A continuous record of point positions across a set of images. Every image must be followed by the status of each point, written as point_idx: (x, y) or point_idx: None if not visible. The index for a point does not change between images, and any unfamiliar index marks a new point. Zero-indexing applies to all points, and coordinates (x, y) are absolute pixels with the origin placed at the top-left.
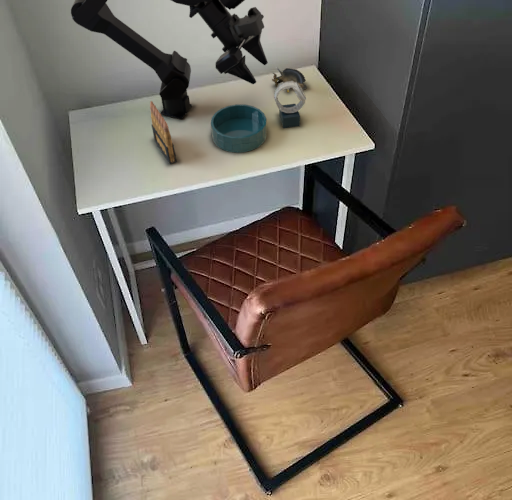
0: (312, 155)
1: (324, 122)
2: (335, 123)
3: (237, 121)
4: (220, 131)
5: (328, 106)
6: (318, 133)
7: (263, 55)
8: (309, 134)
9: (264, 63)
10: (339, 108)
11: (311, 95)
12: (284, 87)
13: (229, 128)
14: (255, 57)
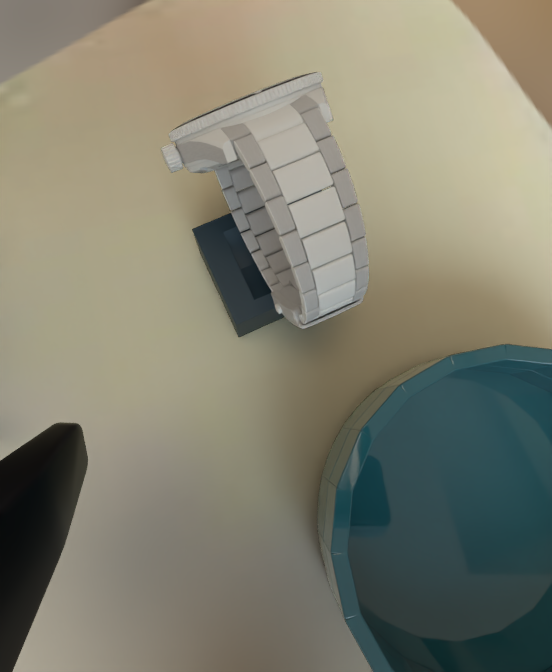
0: (517, 106)
1: (244, 93)
2: (240, 41)
3: (374, 566)
4: (497, 643)
5: (98, 95)
6: (343, 107)
7: (13, 498)
8: (362, 148)
9: (79, 464)
10: (106, 40)
11: (6, 200)
12: (344, 191)
13: (453, 595)
14: (20, 637)
